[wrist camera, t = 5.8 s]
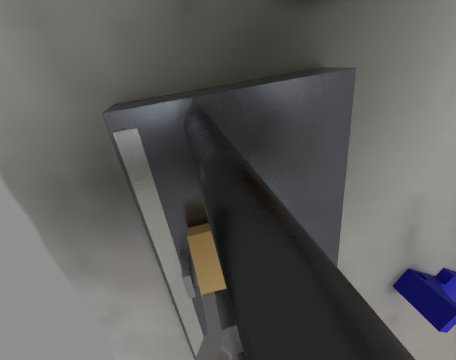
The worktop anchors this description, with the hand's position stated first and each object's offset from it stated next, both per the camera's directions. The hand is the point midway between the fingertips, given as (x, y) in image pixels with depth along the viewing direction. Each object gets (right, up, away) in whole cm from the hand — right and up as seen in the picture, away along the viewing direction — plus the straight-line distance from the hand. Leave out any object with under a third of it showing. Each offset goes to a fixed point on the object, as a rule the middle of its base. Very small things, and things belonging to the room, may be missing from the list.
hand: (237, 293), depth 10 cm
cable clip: (+26, -8, +22) cm, 35 cm away
